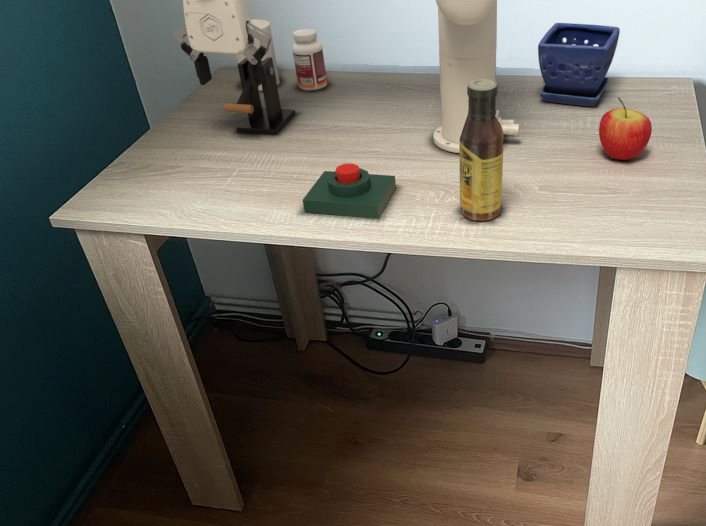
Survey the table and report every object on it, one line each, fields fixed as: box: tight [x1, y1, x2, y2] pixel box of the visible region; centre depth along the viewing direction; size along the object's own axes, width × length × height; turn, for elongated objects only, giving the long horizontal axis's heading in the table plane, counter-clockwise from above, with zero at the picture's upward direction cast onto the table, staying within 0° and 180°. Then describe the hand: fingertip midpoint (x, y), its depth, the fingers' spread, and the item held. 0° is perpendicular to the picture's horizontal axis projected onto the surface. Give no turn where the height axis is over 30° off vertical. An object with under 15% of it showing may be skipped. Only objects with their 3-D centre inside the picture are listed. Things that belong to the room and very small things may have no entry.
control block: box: [302, 167, 397, 219], centre depth 114 cm, size 12×10×4 cm
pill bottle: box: [291, 28, 328, 92], centre depth 151 cm, size 6×6×11 cm
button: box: [335, 162, 360, 183], centre depth 112 cm, size 4×4×2 cm
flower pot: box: [537, 22, 621, 107], centre depth 141 cm, size 13×13×12 cm
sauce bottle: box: [459, 79, 504, 222], centre depth 104 cm, size 6×6×20 cm
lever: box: [223, 61, 262, 114], centre depth 131 cm, size 12×5×2 cm, turn 167°
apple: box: [598, 96, 653, 161], centre depth 120 cm, size 8×8×10 cm
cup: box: [234, 19, 281, 92], centre depth 153 cm, size 8×8×12 cm
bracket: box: [235, 57, 297, 136], centre depth 136 cm, size 10×8×12 cm
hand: (231, 83), depth 126 cm, fingers open, 9 cm apart
